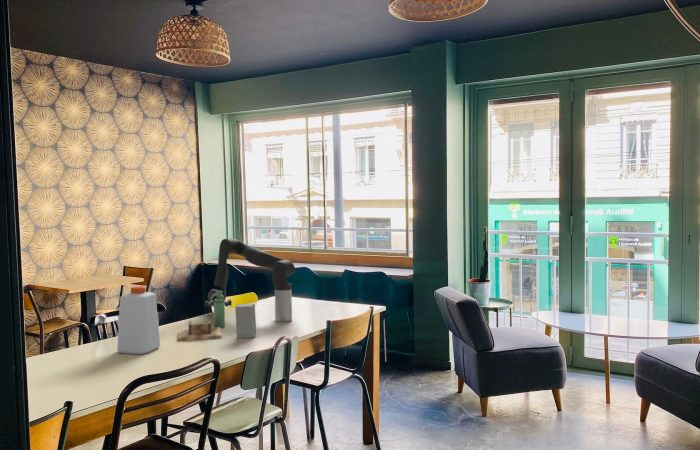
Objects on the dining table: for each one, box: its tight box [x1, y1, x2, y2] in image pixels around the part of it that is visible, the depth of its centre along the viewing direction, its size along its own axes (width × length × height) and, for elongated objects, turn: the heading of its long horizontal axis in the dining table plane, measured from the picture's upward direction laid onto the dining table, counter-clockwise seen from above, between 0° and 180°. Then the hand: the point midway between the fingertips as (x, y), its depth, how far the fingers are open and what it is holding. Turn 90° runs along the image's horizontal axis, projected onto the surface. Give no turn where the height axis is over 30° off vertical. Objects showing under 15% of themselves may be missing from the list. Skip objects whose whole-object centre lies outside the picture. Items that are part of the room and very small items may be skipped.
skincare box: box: [234, 303, 257, 339], centre depth 264 cm, size 8×7×16 cm
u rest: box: [177, 319, 223, 342], centre depth 268 cm, size 20×18×6 cm
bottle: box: [213, 290, 226, 329], centre depth 285 cm, size 6×6×19 cm
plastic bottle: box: [116, 286, 161, 355], centre depth 241 cm, size 15×15×28 cm
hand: (218, 305), depth 295 cm, fingers open, 8 cm apart
